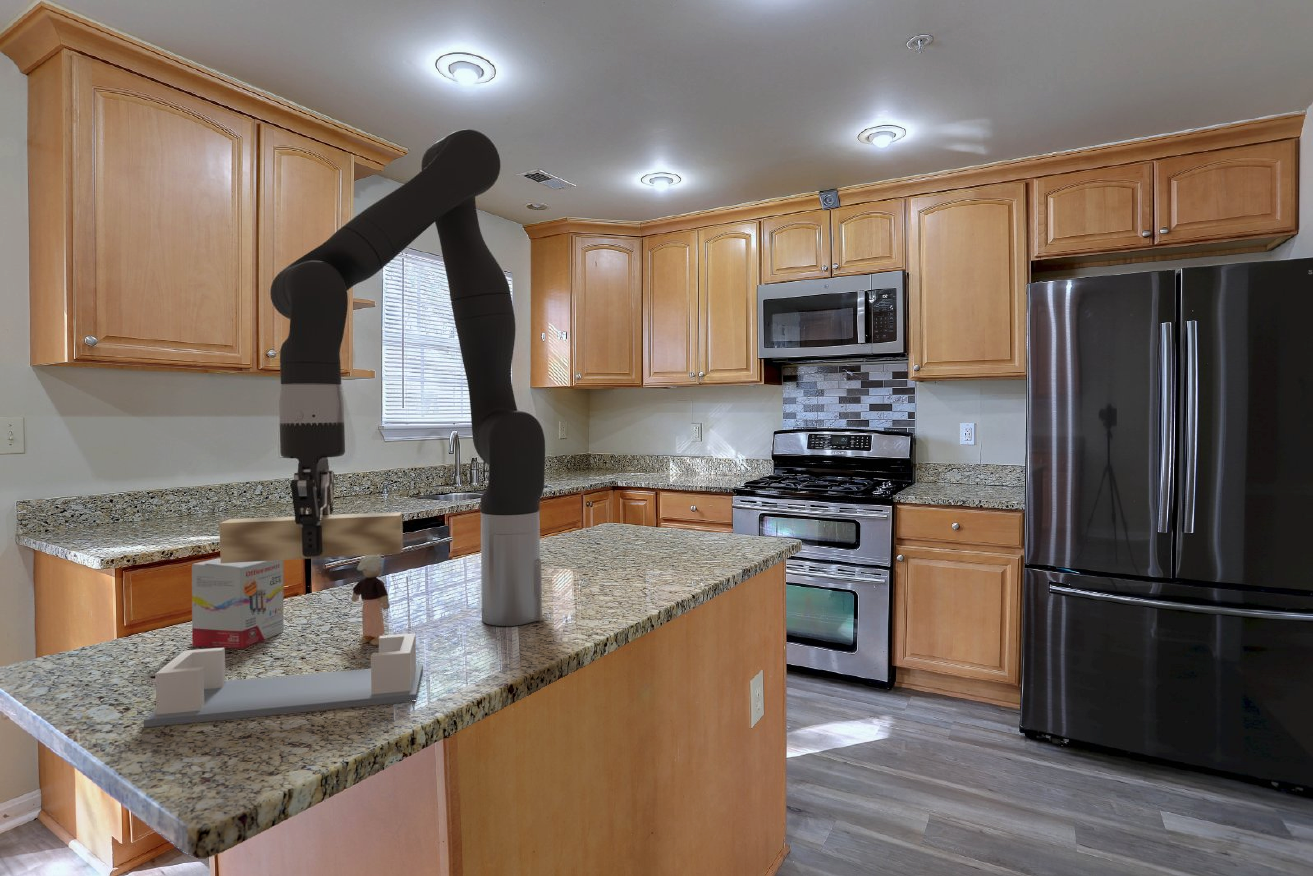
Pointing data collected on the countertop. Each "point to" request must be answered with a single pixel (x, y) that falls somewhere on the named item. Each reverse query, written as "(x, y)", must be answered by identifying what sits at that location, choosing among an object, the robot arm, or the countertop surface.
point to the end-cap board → (280, 686)
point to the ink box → (236, 603)
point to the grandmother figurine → (371, 598)
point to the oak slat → (285, 537)
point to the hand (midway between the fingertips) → (316, 552)
